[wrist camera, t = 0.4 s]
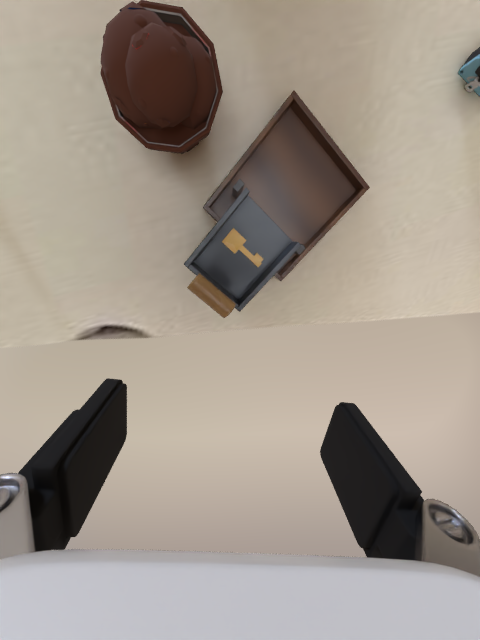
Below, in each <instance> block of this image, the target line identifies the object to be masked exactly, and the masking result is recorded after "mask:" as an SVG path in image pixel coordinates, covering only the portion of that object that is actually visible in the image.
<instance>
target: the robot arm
mask: <svg viewBox="0 0 480 640" xmlns="http://www.w3.org/2000/svg"><path fill="white" fill-rule="evenodd" d="M126 435H127V386H126V384H123V382H122V380H117V379H106V380H105V381H104V382H103V383H102V384H101V385H100V387H99V388H98V389H97V390H96V391H95V392H94V394H93V395H92V396H91V397H90V398H89V400H88V401H87V402H86V403H85V404H84V405H83V406H82V407H81V409H80V410H75V411H73V412H72V414H70V416H69V417H68V418H67V419H66V420H65V421H64V422H63V423H62V424H61V425H60V427H59V428H58V429H57V430H56V431H55V432H54V433H53V434H52V436H51V437H50V438H49V439H48V440H47V441H46V442H45V443H44V445H43V446H42V447H41V448H40V449H39V450H38V451H37V452H36V454H35V455H34V456H33V457H32V458H31V459H30V460H29V461H28V463H27V464H26V465H25V466H24V467H23V468H22V469H21V470H20V471H19V473H18V474H17V473H7V474H1V475H0V640H480V539H479V536H478V534H477V532H476V531H475V530H474V528H473V526H472V525H471V524H470V523H469V522H468V521H467V520H466V519H465V518H464V517H463V516H462V515H461V514H460V513H459V512H458V511H456V510H455V509H453V508H452V507H451V506H449V505H448V504H445V503H443V502H441V501H439V500H435V499H427V500H425V501H424V500H423V498H422V497H421V496H420V494H421V493H422V491H421V490H420V488H419V487H418V486H417V484H416V483H415V482H414V481H413V479H412V478H411V477H410V475H409V474H408V473H407V471H406V470H405V469H404V467H403V466H402V465H401V464H400V462H399V461H398V460H397V458H396V457H395V456H394V454H393V453H392V452H391V451H390V450H389V448H388V447H387V445H386V444H385V443H384V441H383V440H382V439H381V438H380V436H379V435H378V434H377V432H376V431H375V429H374V428H373V427H372V426H371V424H370V423H369V422H368V421H367V419H366V418H365V416H364V415H363V414H362V413H361V411H360V410H359V409H358V407H357V406H356V405H355V404H353V403H344V402H341V403H340V404H339V405H337V406H336V407H335V409H334V412H333V415H332V418H331V421H330V424H329V427H328V429H327V432H326V435H325V438H324V441H323V444H322V447H321V451H320V453H321V458H322V461H323V463H324V465H325V468H326V470H327V472H328V475H329V477H330V479H331V482H332V484H333V486H334V489H335V491H336V494H337V496H338V498H339V501H340V503H341V505H342V507H343V510H344V512H345V515H346V517H347V519H348V522H349V524H350V526H351V529H352V531H353V533H354V536H355V538H356V540H357V543H358V544H359V546H360V547H361V548H363V549H364V551H365V554H366V556H367V557H342V556H318V555H291V554H264V553H233V552H202V551H166V550H129V549H127V550H124V549H121V550H120V549H71V550H69V549H68V550H64V549H65V548H66V546H67V544H68V542H69V540H70V538H71V537H75V536H77V534H78V533H79V531H80V529H81V527H82V525H83V523H84V521H85V519H86V517H87V515H88V513H89V511H90V509H91V508H92V505H93V504H94V502H95V499H96V498H97V496H98V494H99V492H100V490H101V487H102V486H103V484H104V482H105V480H106V478H107V476H108V474H109V472H110V470H111V468H112V466H113V464H114V462H115V460H116V458H117V456H118V454H119V452H120V450H121V448H122V446H123V444H124V442H125V439H126Z"/></svg>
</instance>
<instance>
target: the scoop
mask: <svg viewBox="0 0 480 640" xmlns="http://www.w3.org/2000/svg"><path fill="white" fill-rule="evenodd" d="M249 192H250V191H249V190H248V189H247V188H245V189H244V190H243V191H242V193H241V194H240V195H239V196H238V198H237V199H236V200H235V201H234V203H233V204H232V205H231V206H230V207H229V209H228V210H227V211H226V212H225V214H224V215H223V216H222V217H221V219H220V220H219V221H218V222H217V224H216V225H215V226H214V227H213V229H212V230H211V231H210V232H209V233H208V235H207V236H206V237H205V238H204V240H203V241H202V242H201V243H200V245H199V246H198V247H197V248H196V250H195V251H194V252H193V253H192V255H191V256H190V257H189V258H188V259H187V261H186V262H185V263H184V265H185V266H186V267H187V268H188V269H190V270H191V271H192V272H193V273H194V274H196V275H197V276H196V278H195V279H194V280H193V281H192V282H191V284H190V285H189V286H188V287H187V288H188V289H189V290H190V291H191V292H193V293H194V294H195V295H196V296H198V297H199V298H200V299H201V300H202V301H204V302H205V303H206V304H207V305H209V306H210V307H211V308H212V309H213V310H215V311H216V312H217V313H218V314H220V315H221V316H222V317H223V318H225V317H227V316H228V315H229V314H230V313H231V312H232V310H233V309H234V307H235V308H236V309H237V310H238V311H239V312H240V311H241V310H242V309H243V308H244V307H245V306H246V304H247V303H248V302H249V301H250V300H251V299H252V298H253V297H254V296H255V295H256V294H257V293H258V292H259V291H260V289H261V288H262V287H263V286H264V285H265V284H266V283H267V282H268V281H269V280H270V279H271V278H272V277H273V276H274V274H275V273H276V272H277V271H278V270H279V269H280V268H281V267H282V266H283V265H284V264H285V263H286V262H287V261H288V259H289V258H290V257H291V256H292V255H293V254H294V253H295V252H296V251H297V250H298V249H299V248H300V247H301V244H300V243H299V242H293V241H292V240H291V239H290V238H289V237H288V236H287V235H286V234H285V233H284V232H283V231H282V230H281V229H280V228H279V227H278V226H277V224H276V223H275V222H274V221H273V220H272V219H271V218H270V217H269V216H268V215H267V214H266V213H265V212H264V211H263V210H262V209H261V208H260V207H259V206H258V205H257V204H256V203H255V202H254V201H253V200H252V199H251V198H250V197H249V196H248V194H249ZM233 228H234V229H235V230H236V231H237V232H238V233H239V234H240V235H241V236H243V237H244V238H245V239H246V242H245V243H244V244H243V246H244V247H245V248H246V249H247V250H248V251H249V252H250V253H251V254H252V255H255V254H256V253H258V254H259V255H260V256H261V257H262V258H263V261H262V262H261V263H262V264H261V265H260V266H259V267H257V266H256V265H255V264H254V263H253V262H252V261H251V260H250V259H249V258H247V257H246V256H245V255H244V254H243V253H242V252H241V251H240V250H238V251H237V252H236V253H235V254H234V253H233V252H232V251H231V250H230V249H229V248H228V247H227V246H226V245H225V244H224V243H222V241H223V240H224V238H225V237H226V236H227V235H228V234H229V232H230V231H231V230H232V229H233Z"/></svg>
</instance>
